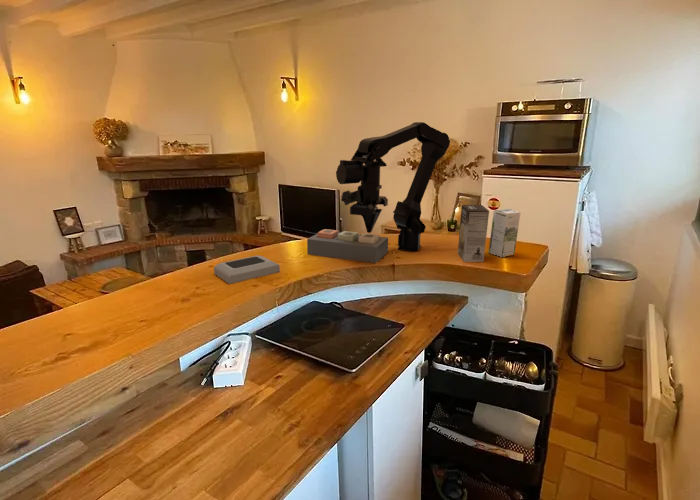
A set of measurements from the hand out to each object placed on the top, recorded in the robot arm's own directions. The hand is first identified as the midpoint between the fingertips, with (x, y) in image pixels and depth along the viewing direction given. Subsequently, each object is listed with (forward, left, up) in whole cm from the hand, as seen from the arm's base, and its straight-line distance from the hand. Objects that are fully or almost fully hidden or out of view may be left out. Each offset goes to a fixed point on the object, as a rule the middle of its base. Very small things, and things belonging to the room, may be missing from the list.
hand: (369, 232), depth 130 cm
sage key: (+7, 0, -4) cm, 8 cm away
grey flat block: (+26, +28, -8) cm, 39 cm away
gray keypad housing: (+7, 0, -8) cm, 10 cm away
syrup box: (-39, -18, -8) cm, 44 cm away
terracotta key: (+14, 0, -4) cm, 15 cm away
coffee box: (-30, -11, -8) cm, 33 cm away
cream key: (0, 0, -4) cm, 4 cm away
